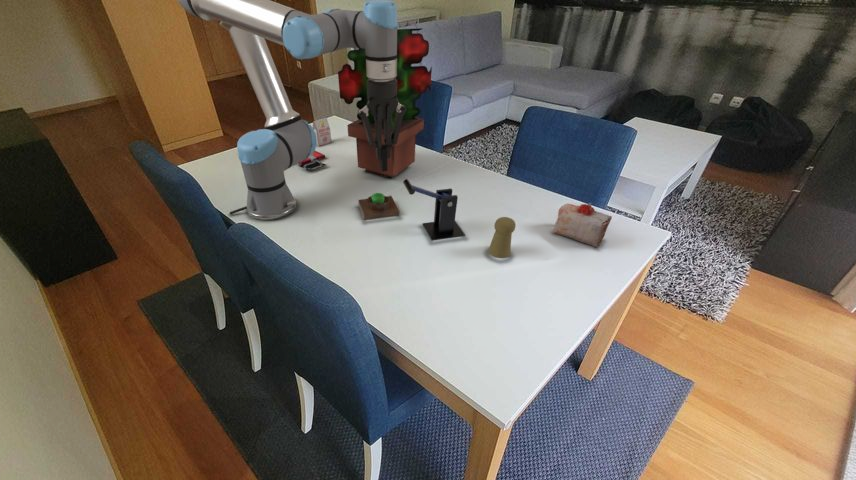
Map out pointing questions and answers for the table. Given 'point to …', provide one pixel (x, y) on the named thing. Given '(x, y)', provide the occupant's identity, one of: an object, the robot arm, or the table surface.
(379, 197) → the green button
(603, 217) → the food item
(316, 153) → the red board with handle
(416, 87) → the potted plant
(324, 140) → the white cardboard box
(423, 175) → the table surface
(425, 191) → the lever
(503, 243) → the tan pawn
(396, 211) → the switch block
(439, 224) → the lever bracket
